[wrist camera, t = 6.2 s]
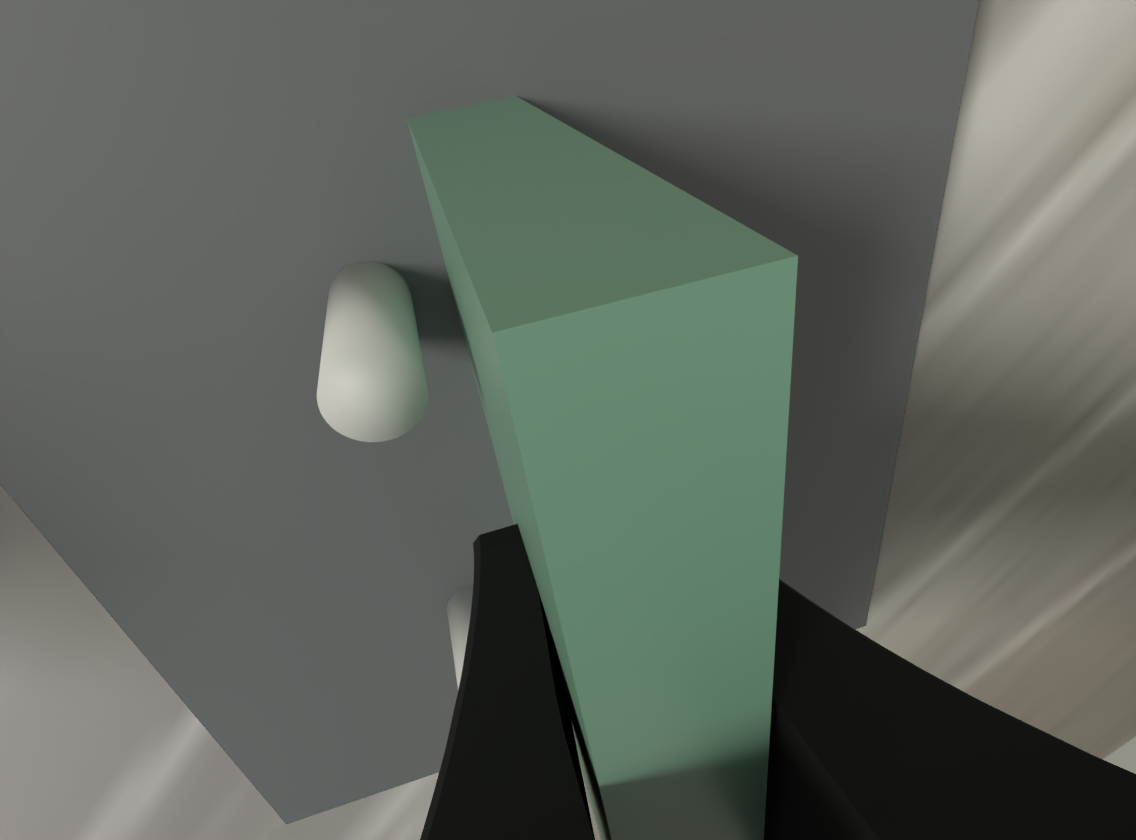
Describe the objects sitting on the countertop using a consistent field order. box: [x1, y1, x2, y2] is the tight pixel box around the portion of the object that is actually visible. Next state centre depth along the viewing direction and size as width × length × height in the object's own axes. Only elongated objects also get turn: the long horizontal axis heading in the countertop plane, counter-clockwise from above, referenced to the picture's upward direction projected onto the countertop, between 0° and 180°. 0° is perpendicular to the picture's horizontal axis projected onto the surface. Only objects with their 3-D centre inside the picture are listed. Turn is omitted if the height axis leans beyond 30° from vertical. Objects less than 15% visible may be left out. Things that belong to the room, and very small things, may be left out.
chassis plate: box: [0, 0, 979, 824], centre depth 11 cm, size 18×16×4 cm
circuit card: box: [407, 96, 798, 840], centre depth 9 cm, size 12×2×7 cm, turn 9°
